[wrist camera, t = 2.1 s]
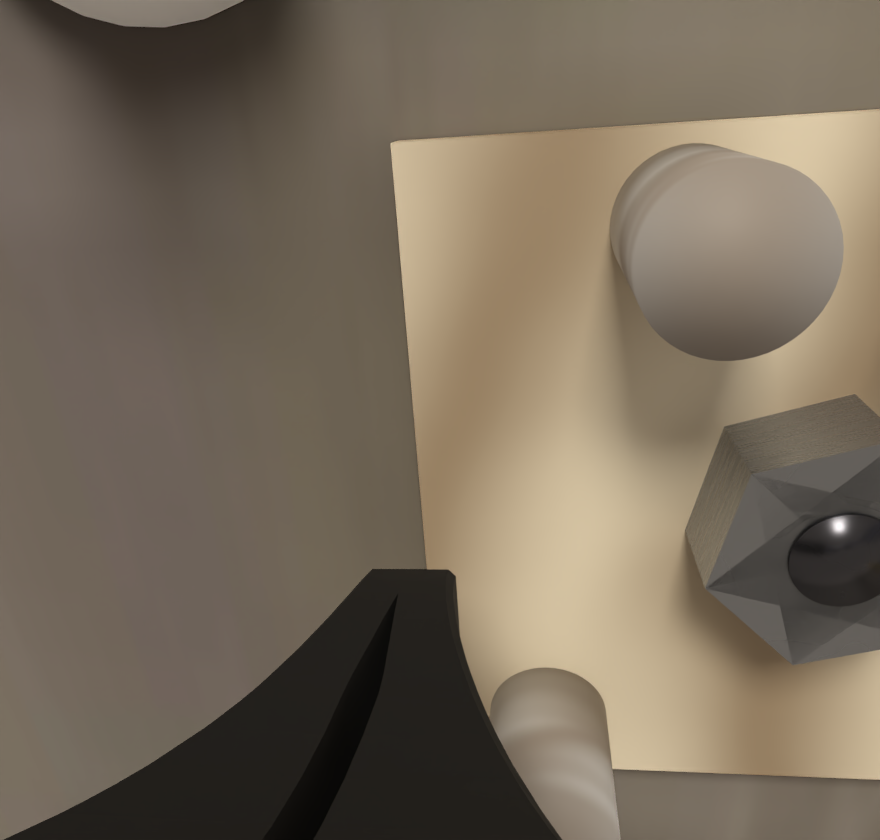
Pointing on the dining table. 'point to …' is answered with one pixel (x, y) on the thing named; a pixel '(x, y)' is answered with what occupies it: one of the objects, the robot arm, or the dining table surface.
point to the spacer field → (631, 428)
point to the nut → (796, 528)
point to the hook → (148, 10)
